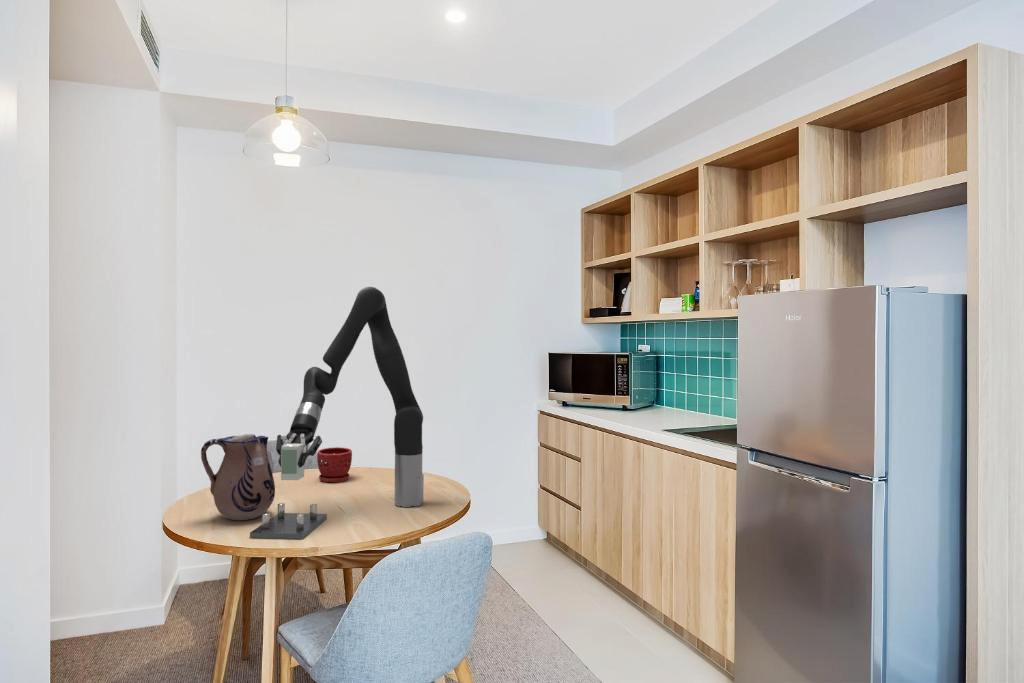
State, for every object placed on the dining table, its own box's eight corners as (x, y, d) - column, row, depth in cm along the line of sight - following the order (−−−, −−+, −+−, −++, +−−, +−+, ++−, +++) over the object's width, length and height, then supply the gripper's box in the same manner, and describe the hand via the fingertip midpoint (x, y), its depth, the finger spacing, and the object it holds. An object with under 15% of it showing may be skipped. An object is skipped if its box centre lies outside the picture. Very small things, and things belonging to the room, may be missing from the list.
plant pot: (310, 481, 245) (310, 450, 245) (336, 475, 256) (337, 446, 256) (332, 486, 238) (332, 454, 238) (358, 479, 249) (359, 449, 249)
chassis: (326, 518, 195) (326, 501, 195) (302, 539, 175) (302, 519, 175) (279, 517, 196) (279, 499, 196) (249, 538, 176) (249, 518, 176)
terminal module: (304, 476, 191) (304, 443, 191) (297, 480, 186) (297, 446, 186) (288, 476, 192) (288, 443, 191) (280, 480, 186) (280, 446, 186)
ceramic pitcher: (279, 520, 193) (279, 439, 193) (202, 530, 183) (203, 444, 183) (270, 506, 209) (270, 431, 208) (199, 515, 198) (199, 435, 198)
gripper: (280, 412, 197) (262, 458, 185) (325, 413, 196) (310, 459, 184) (287, 426, 202) (270, 472, 190) (331, 427, 201) (317, 473, 189)
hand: (290, 465), depth 187 cm, fingers closed on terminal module, 5 cm apart
